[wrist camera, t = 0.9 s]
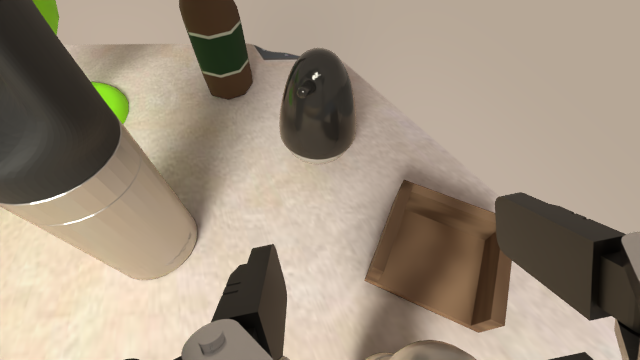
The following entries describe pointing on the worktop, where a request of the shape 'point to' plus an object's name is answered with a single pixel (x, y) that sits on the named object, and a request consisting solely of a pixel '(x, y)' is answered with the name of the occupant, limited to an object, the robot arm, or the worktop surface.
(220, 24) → the beer bottle
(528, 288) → the worktop surface
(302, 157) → the black egg-shaped dispenser
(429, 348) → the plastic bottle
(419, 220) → the u rest
